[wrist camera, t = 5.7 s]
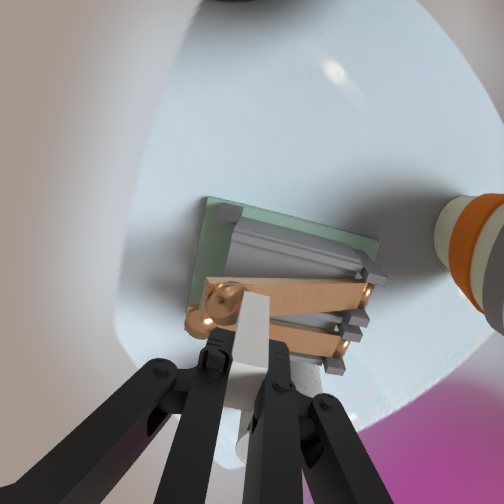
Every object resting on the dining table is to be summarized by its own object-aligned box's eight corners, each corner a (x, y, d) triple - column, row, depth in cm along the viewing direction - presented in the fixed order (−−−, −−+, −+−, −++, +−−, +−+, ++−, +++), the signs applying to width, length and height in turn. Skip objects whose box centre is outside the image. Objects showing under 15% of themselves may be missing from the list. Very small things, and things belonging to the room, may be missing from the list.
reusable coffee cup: (507, 206, 27) (590, 238, 13) (471, 293, 31) (538, 354, 17) (444, 161, 27) (540, 175, 13) (403, 263, 31) (475, 333, 16)
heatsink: (210, 195, 30) (188, 209, 22) (377, 240, 30) (408, 267, 22) (188, 307, 34) (167, 348, 26) (337, 341, 34) (350, 387, 26)
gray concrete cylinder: (334, 369, 36) (352, 443, 24) (285, 409, 38) (286, 480, 26) (278, 332, 34) (280, 409, 22) (230, 378, 37) (216, 452, 25)
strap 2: (190, 298, 26) (186, 308, 24) (350, 330, 27) (355, 340, 25) (186, 325, 27) (182, 335, 25) (340, 353, 28) (344, 363, 26)
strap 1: (204, 272, 18) (213, 285, 17) (368, 275, 25) (381, 284, 24) (197, 311, 19) (205, 326, 17) (357, 303, 26) (369, 312, 25)
